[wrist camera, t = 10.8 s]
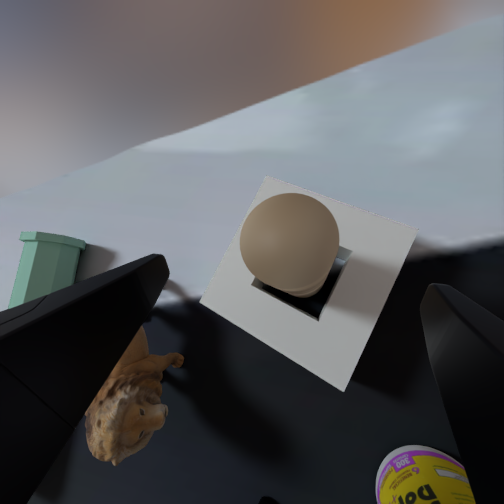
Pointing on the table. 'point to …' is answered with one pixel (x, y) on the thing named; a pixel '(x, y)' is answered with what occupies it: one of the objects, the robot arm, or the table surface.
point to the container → (45, 265)
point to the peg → (290, 243)
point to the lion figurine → (129, 403)
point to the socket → (339, 301)
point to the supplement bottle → (422, 478)
